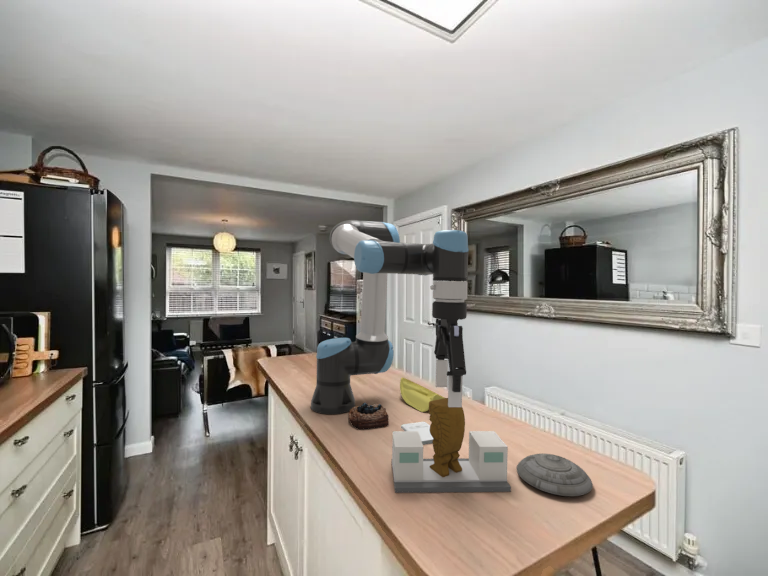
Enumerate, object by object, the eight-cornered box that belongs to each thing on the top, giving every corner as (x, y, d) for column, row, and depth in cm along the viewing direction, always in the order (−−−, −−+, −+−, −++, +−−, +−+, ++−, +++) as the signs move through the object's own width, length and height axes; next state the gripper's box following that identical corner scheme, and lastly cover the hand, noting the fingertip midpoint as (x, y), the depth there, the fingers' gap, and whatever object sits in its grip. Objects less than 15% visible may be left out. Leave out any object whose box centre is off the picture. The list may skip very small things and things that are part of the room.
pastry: (392, 427, 105) (393, 408, 105) (353, 432, 101) (354, 412, 101) (381, 414, 116) (381, 397, 116) (345, 418, 112) (345, 400, 112)
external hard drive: (419, 447, 93) (400, 429, 105) (446, 443, 96) (425, 426, 108) (419, 441, 93) (400, 424, 105) (446, 437, 96) (425, 420, 108)
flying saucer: (502, 477, 78) (503, 453, 78) (537, 458, 87) (538, 436, 87) (572, 512, 66) (573, 483, 66) (604, 485, 76) (605, 460, 76)
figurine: (449, 460, 83) (450, 396, 82) (469, 472, 77) (470, 404, 77) (425, 467, 79) (426, 400, 79) (444, 481, 73) (445, 410, 73)
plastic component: (452, 401, 123) (433, 393, 118) (443, 421, 121) (424, 414, 116) (416, 383, 139) (399, 375, 134) (409, 401, 138) (391, 393, 133)
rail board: (391, 463, 84) (392, 427, 83) (490, 462, 84) (491, 427, 84) (395, 492, 72) (395, 451, 72) (510, 491, 72) (511, 451, 72)
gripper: (424, 297, 90) (422, 380, 90) (444, 303, 65) (442, 417, 66) (453, 298, 90) (451, 380, 91) (484, 304, 66) (481, 417, 66)
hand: (447, 396), depth 78 cm, fingers open, 13 cm apart
